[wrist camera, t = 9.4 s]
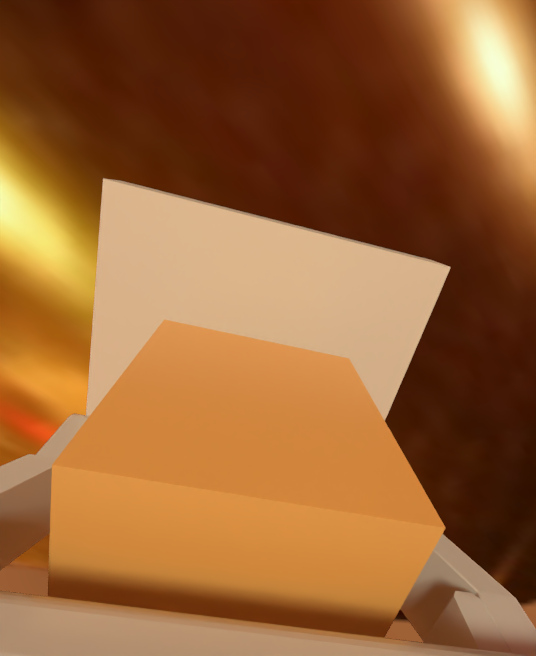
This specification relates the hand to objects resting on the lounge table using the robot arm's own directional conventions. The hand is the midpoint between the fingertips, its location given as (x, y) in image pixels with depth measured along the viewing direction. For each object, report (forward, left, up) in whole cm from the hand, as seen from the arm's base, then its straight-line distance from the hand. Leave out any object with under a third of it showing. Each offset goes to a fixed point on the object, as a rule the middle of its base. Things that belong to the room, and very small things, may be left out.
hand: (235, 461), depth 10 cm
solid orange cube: (0, 0, -2) cm, 2 cm away
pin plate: (0, 0, -6) cm, 6 cm away
